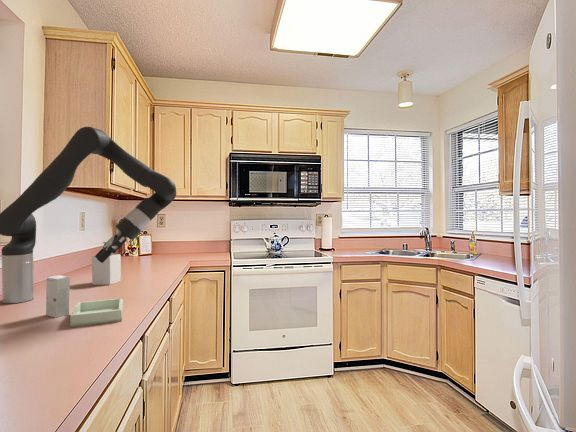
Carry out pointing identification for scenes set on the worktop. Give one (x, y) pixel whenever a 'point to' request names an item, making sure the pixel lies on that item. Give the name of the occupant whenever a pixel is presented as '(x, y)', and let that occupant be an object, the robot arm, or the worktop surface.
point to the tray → (97, 312)
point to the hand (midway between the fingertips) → (98, 259)
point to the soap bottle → (106, 270)
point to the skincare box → (57, 296)
